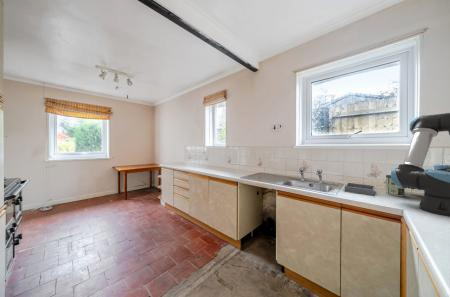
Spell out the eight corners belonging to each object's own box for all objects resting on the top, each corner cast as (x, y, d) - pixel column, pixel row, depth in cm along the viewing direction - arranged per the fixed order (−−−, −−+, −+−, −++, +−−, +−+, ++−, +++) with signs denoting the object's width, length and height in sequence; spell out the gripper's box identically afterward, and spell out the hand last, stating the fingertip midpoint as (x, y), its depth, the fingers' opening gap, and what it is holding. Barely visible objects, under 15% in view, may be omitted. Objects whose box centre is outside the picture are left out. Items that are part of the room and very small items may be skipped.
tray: (374, 190, 137) (374, 185, 137) (373, 195, 124) (373, 190, 124) (347, 186, 150) (347, 182, 150) (344, 191, 137) (344, 186, 136)
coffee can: (401, 193, 129) (401, 175, 129) (407, 197, 120) (407, 177, 120) (383, 191, 134) (383, 174, 134) (388, 195, 125) (388, 176, 125)
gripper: (441, 195, 111) (402, 193, 116) (410, 186, 135) (378, 184, 140) (441, 184, 111) (402, 182, 116) (410, 176, 135) (379, 175, 140)
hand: (389, 183), depth 128 cm, fingers open, 12 cm apart
